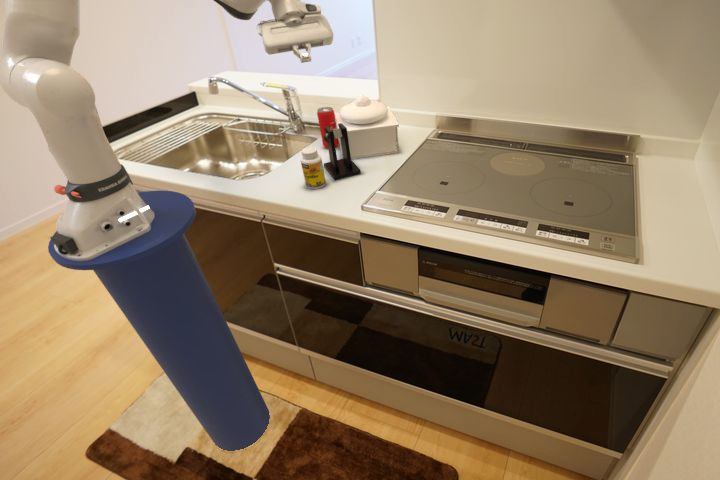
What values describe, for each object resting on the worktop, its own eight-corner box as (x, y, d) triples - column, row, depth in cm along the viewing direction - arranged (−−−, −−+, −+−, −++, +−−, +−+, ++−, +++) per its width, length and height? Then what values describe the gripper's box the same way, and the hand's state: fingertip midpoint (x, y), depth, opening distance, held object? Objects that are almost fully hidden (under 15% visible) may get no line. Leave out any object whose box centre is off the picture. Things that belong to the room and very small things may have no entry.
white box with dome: (338, 138, 139) (330, 89, 129) (390, 131, 141) (387, 82, 131) (342, 160, 126) (334, 107, 116) (400, 152, 128) (397, 100, 118)
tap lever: (324, 145, 124) (321, 134, 123) (334, 142, 125) (331, 131, 124) (333, 140, 112) (330, 128, 112) (344, 137, 113) (341, 125, 112)
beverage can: (333, 141, 137) (327, 105, 130) (342, 146, 134) (336, 109, 126) (320, 146, 135) (313, 109, 127) (328, 151, 132) (322, 113, 124)
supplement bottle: (303, 189, 113) (295, 154, 107) (310, 179, 117) (303, 145, 111) (322, 190, 112) (315, 155, 106) (329, 180, 116) (322, 146, 110)
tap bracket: (324, 167, 123) (316, 124, 115) (349, 160, 125) (343, 118, 117) (334, 180, 116) (326, 136, 108) (361, 173, 118) (355, 130, 110)
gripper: (253, 14, 113) (270, 60, 113) (324, 4, 119) (340, 48, 119) (255, 30, 119) (270, 73, 119) (322, 20, 125) (338, 61, 125)
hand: (306, 60), depth 119 cm, fingers closed
